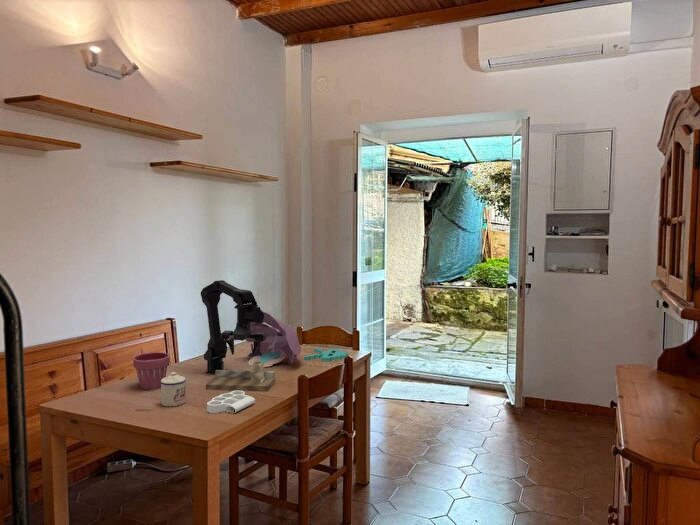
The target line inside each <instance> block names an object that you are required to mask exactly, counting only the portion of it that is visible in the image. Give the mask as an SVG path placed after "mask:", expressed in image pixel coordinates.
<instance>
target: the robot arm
mask: <svg viewBox="0 0 700 525" xmlns="http://www.w3.org/2000/svg"><path fill="white" fill-rule="evenodd" d="M222 294H224V295H227V296H228V297H230V298H232V301H233V302H234V303H235V306H234V307H233V308H234V309H235V310H236V325H235V328H234V330H224V331H222V330H221V324H220V323H221V322H220V316H219V314H220V313H219V306H218V305H219V303H220V301H221V295H222ZM200 297H201V302H202V303H203V305H204V306H205V307H206V314H207V321H208V331H209V339H208V340H209V341H208V343H207V350H206V351H205V352H204V354H203V359H204V361H206V363H207V364H206V366H207V368H206V369H207V371H206V372H205V373H206V374H214V375H215V371H216V370H225V368H224V367H225V365H224V364H225V363H224V360H223V359H226V357H227V354H228V353H227V352H228V347H229V350H230V354H231V355H232V356H233V355H234V353H235V341H241V342H242V341H246V340H245V338H254V339H255V341H254V342H253V344H254V345H253V356H254V355H255V353H256V350H257V347H258V345H259V343H261V342H262V341H264V340H265V339H266V333H265V332H257V333H255V334H251V330H250V324H251V322H254V323H261V322H262V321H263V319H264V313H263V312H264V311H263V310H262V309H261V306H259V305H258V302H257V299H256V298H255V296H254V294H253V292H252V291H251V290H249V289H243V288H238V287H236V286H234V285H232V284H231V283H228V282H226V281H225V280H223V279H222V280H220V279H219V280H215V281H213V282H212V283H210V284H209V285H206V286H205V287H203V288H202V289H201V291H200Z"/></svg>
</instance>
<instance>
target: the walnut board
mask: <svg viewBox="0 0 700 525" xmlns="http://www.w3.org/2000/svg"><path fill="white" fill-rule="evenodd" d="M214 375H215V376H214V377H213V378H212V379H210V381H209V382H207V383H206V384H205V390H210V389H217V390H218V391H219V390H220V391H246V390H250V391H251V392H253V391H254V392H257V391H258V392H269V391H270V389H271V388H272V387H271V386H273V385H274V384H275V383H276V371H272V370H271V371H268V370H264V378H263V379H262V381H261V382H251V370H237V369H236V370H233V369H232V370H231V369H229V370H228V369H224V370H216V371H215V374H214ZM274 382H275V383H274ZM217 390H216V391H217ZM268 390H269V391H268ZM250 391H249V392H250Z"/></svg>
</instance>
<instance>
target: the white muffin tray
mask: <svg viewBox="0 0 700 525" xmlns="http://www.w3.org/2000/svg"><path fill="white" fill-rule="evenodd" d="M254 403H256V399H255V398H254V397H253V396H251V395H246V392H245V390H231V391H230V392H226V393H221V394H219V395H217V396H214V397H213V398H211V400H210V401H207V402H206V412H207V413H208V412H209V413H208V414H220V413H219V412H221V413H228V412H231V411H233V410H234V409H235V412H234V413H233V414H236V413H237V412H238V411H239V412H240V410H243V409H246V408H247V407H249V406H251V405H253V404H254ZM225 411H226V412H225Z"/></svg>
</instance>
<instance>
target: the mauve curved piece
mask: <svg viewBox="0 0 700 525" xmlns="http://www.w3.org/2000/svg"><path fill="white" fill-rule="evenodd" d="M263 313H264V319H263V321H262V322H261V323H254V322H251V324H250V330H251V334H255V333H257V332H265V333H266V339H265V340H264V341H262V342H261V343H259V345H258V347H257V350H256V353H255V355H254V356H253V348H254V341H255V339H254V338H245V340H244V341H246V342H248V343H251V344H250V348H251V349H250V350H251V352H250V353H248V354H247V357H248V358H249V361H248V366H250V365H252V364H253V363H254V362H264V368H266V367H271V366H273V365H274V364H278V363H280V362H282V361H284V360H285V359H286V358H287V360H286V362H287V364H289V363H290V364H289V365H293V363H294V359H296V358H297V357H298V356H299V355H300V354H301V351H302V350H301V344H300V340H299V338H298V334H297V331H296V330H295V329H294V328H293V327H292V326H291V325H290V324H285V323H284V322H283V321H282V320H279V319H278V318H276V317H275V316H272V315H271V314H270V313H268V312H265V311H263Z"/></svg>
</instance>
